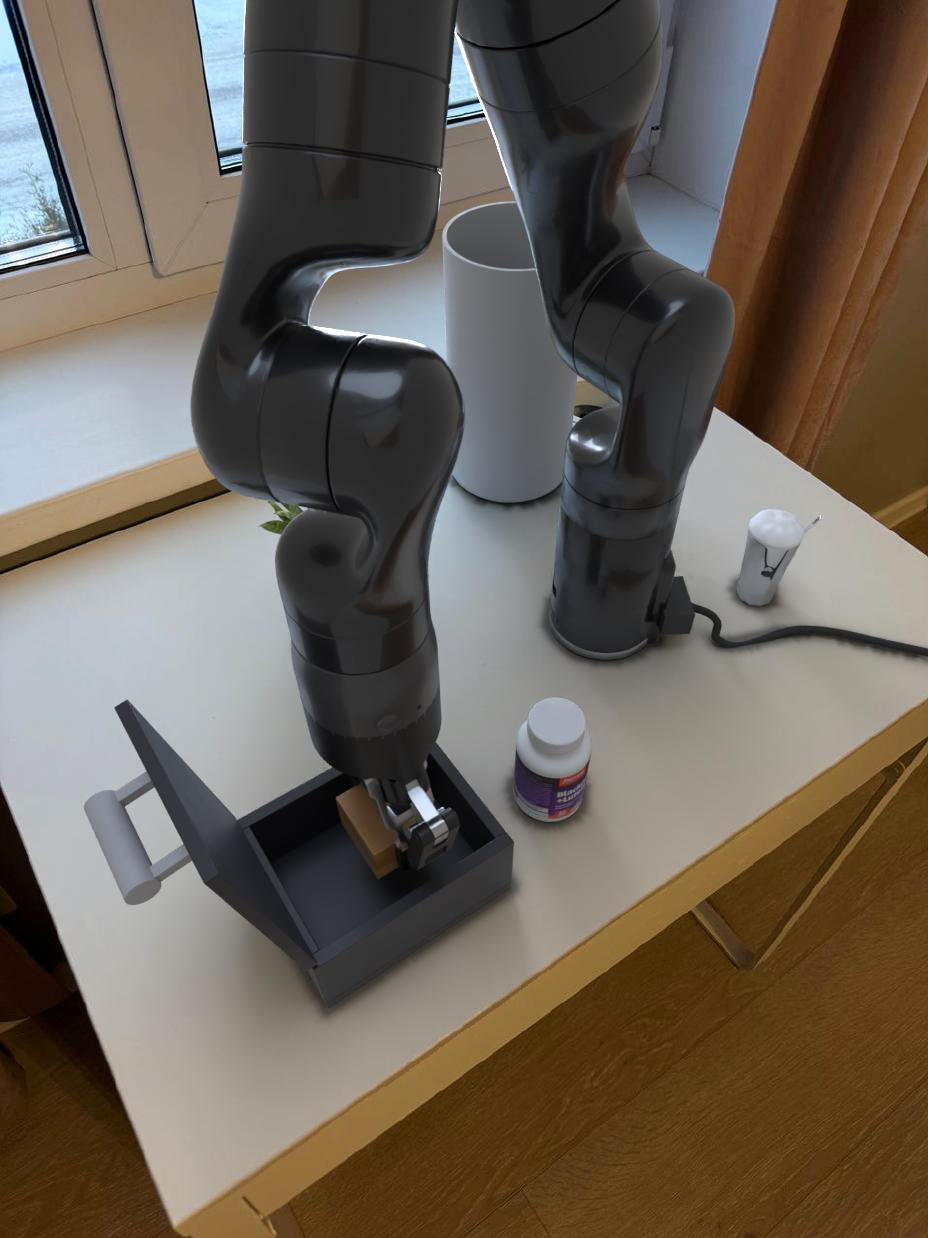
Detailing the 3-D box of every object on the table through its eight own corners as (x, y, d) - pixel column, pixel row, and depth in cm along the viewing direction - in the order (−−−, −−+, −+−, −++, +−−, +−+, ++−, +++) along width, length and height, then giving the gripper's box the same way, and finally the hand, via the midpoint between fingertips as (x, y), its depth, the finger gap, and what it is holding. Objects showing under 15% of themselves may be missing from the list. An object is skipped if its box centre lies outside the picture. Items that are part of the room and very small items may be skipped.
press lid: (127, 698, 47) (43, 750, 46) (219, 873, 40) (123, 938, 39) (234, 816, 59) (170, 859, 58) (318, 963, 53) (247, 1015, 52)
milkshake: (790, 616, 80) (822, 535, 73) (729, 608, 81) (755, 527, 73) (788, 580, 83) (819, 498, 76) (729, 572, 84) (754, 491, 76)
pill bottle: (562, 836, 66) (573, 766, 59) (500, 802, 68) (502, 731, 61) (595, 782, 69) (609, 709, 62) (534, 751, 71) (541, 676, 64)
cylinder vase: (570, 434, 98) (592, 204, 79) (565, 510, 90) (588, 274, 71) (457, 427, 99) (452, 198, 80) (442, 502, 91) (432, 267, 72)
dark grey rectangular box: (422, 769, 70) (418, 718, 65) (511, 887, 64) (514, 841, 59) (250, 868, 65) (230, 822, 60) (327, 1008, 58) (313, 970, 53)
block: (403, 786, 63) (400, 760, 60) (442, 840, 60) (440, 815, 58) (341, 823, 61) (335, 797, 59) (378, 880, 58) (373, 855, 56)
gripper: (504, 735, 45) (498, 881, 58) (363, 567, 53) (385, 729, 66) (376, 810, 42) (399, 946, 55) (247, 622, 50) (294, 779, 63)
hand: (391, 827), depth 60 cm, fingers closed on block, 5 cm apart
